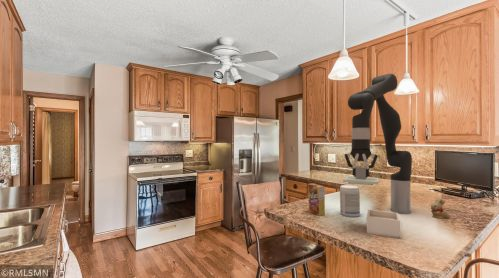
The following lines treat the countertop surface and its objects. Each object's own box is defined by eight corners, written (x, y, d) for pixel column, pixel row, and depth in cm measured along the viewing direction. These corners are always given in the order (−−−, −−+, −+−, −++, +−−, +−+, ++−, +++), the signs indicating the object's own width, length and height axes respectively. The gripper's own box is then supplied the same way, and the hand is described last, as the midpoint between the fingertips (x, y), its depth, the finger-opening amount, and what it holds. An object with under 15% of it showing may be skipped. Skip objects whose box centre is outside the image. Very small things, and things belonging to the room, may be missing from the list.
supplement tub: (363, 215, 128) (363, 187, 128) (352, 218, 122) (352, 188, 122) (347, 210, 136) (347, 184, 136) (336, 213, 130) (336, 186, 131)
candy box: (307, 211, 134) (307, 183, 134) (314, 210, 136) (314, 183, 136) (318, 216, 126) (318, 186, 126) (325, 215, 128) (325, 185, 128)
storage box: (367, 224, 113) (367, 209, 113) (398, 228, 108) (398, 212, 108) (366, 233, 103) (366, 216, 103) (400, 238, 97) (400, 220, 97)
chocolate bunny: (430, 214, 129) (430, 195, 129) (449, 217, 125) (449, 197, 125) (431, 217, 124) (431, 197, 124) (451, 220, 120) (451, 199, 120)
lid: (345, 179, 118) (346, 165, 118) (377, 181, 112) (377, 166, 112) (343, 183, 106) (343, 167, 106) (378, 186, 100) (378, 169, 100)
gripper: (378, 138, 109) (378, 177, 109) (344, 138, 116) (344, 175, 116) (379, 138, 103) (379, 179, 102) (342, 138, 109) (342, 177, 109)
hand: (360, 176), depth 109 cm, fingers closed on lid, 4 cm apart
